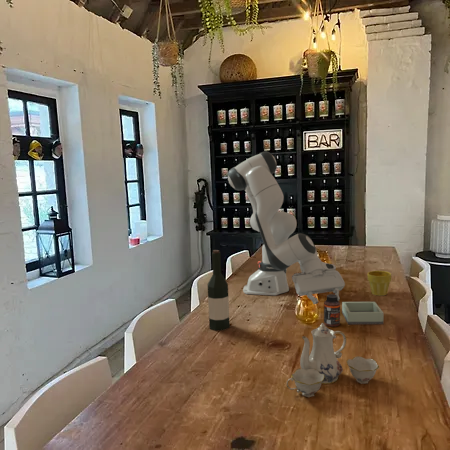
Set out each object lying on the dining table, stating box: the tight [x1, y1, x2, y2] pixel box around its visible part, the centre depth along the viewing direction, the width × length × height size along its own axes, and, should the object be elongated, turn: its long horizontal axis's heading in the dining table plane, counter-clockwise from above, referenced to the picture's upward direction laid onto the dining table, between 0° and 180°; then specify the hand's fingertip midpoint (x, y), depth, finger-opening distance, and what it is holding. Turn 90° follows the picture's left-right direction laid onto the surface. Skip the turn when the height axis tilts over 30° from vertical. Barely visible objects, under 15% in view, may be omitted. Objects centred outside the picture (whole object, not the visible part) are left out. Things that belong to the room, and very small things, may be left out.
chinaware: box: [286, 322, 380, 398], centre depth 119 cm, size 28×17×17 cm, turn 115°
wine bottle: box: [207, 249, 231, 332], centre depth 163 cm, size 8×8×30 cm
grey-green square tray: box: [341, 301, 384, 325], centre depth 167 cm, size 13×13×4 cm
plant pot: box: [367, 270, 392, 297], centre depth 196 cm, size 10×10×10 cm
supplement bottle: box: [323, 293, 341, 328], centre depth 162 cm, size 6×6×11 cm
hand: (327, 301), depth 163 cm, fingers open, 8 cm apart
